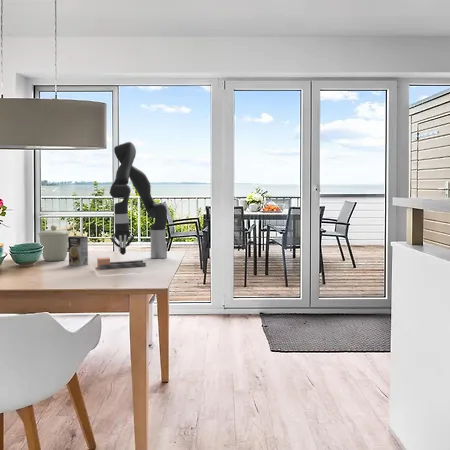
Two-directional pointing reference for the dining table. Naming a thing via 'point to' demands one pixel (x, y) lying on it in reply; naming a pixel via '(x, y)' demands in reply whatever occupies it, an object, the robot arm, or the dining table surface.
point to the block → (103, 261)
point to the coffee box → (78, 250)
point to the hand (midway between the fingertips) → (122, 254)
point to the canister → (54, 244)
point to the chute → (124, 264)
